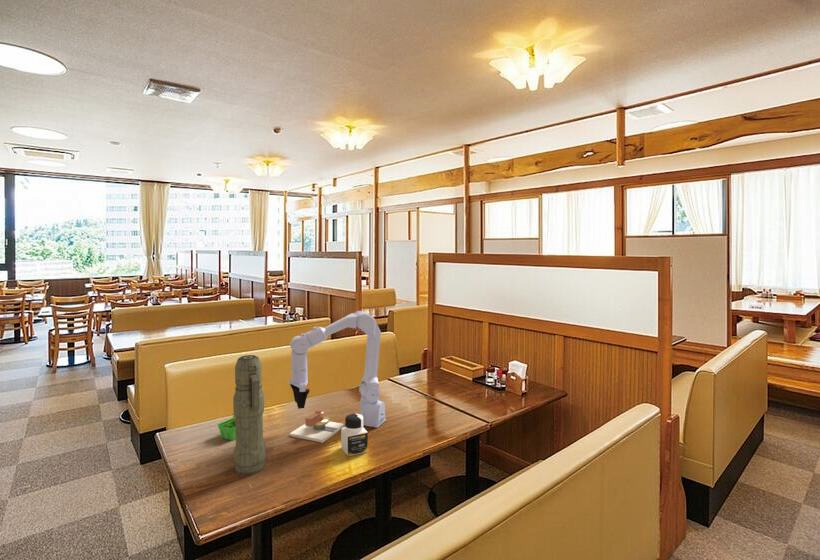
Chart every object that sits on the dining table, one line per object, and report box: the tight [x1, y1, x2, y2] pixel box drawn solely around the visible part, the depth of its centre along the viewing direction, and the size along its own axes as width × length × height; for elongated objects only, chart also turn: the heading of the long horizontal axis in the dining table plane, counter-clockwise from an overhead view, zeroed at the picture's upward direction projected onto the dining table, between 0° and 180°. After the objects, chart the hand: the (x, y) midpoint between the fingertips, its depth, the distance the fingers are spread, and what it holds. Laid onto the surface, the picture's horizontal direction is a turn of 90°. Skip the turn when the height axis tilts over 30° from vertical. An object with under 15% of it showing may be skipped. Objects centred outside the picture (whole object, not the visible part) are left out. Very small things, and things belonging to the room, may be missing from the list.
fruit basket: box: [217, 412, 236, 441], centre depth 156 cm, size 11×9×11 cm
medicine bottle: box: [340, 413, 369, 457], centre depth 145 cm, size 7×7×12 cm
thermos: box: [232, 354, 266, 476], centre depth 131 cm, size 9×12×35 cm
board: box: [289, 421, 345, 443], centre depth 160 cm, size 14×15×3 cm
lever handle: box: [304, 409, 331, 427], centre depth 159 cm, size 8×11×4 cm
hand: (299, 405), depth 158 cm, fingers open, 6 cm apart
